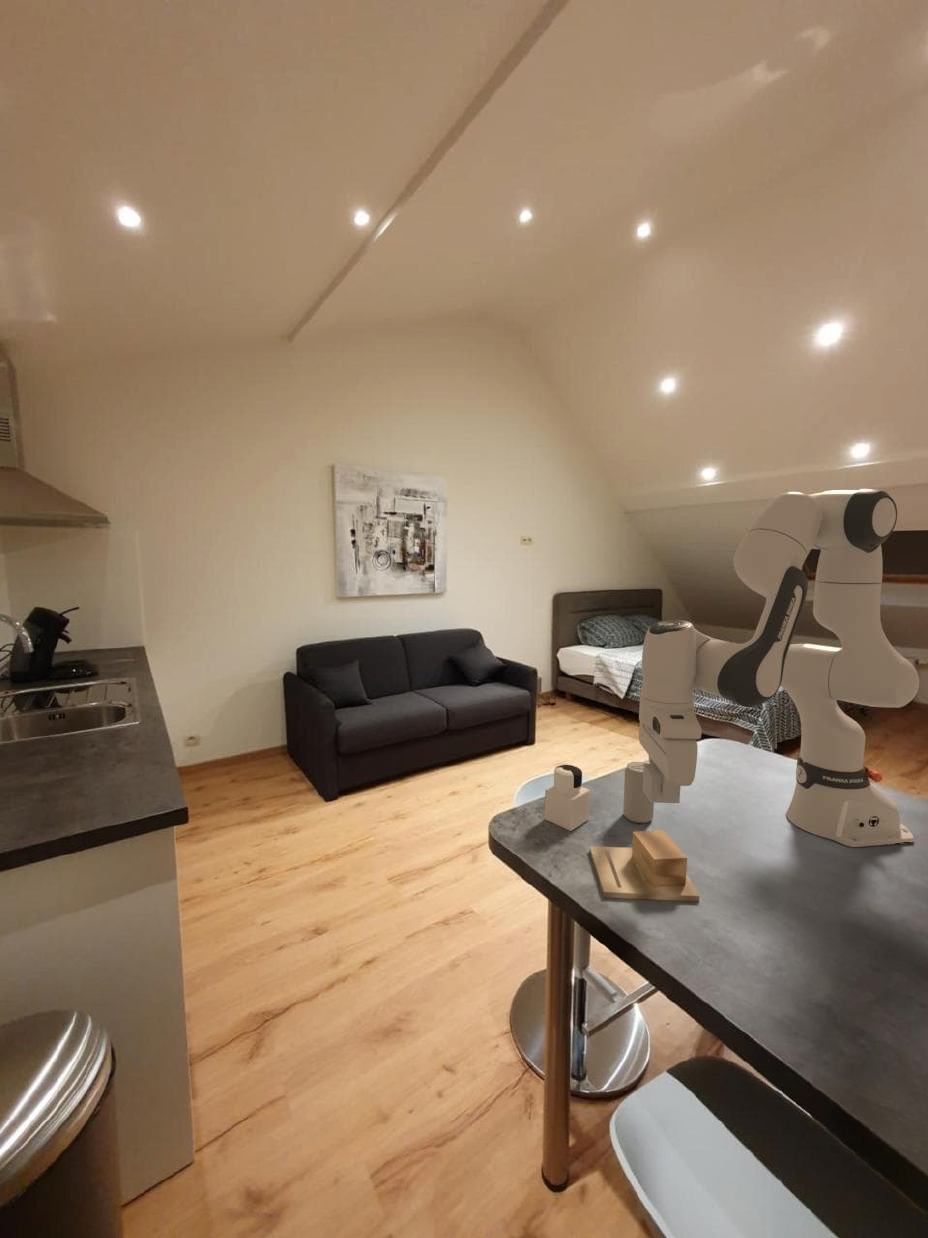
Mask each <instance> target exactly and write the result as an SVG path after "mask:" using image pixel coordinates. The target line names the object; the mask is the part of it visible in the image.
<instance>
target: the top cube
mask: <svg viewBox="0 0 928 1238" xmlns="http://www.w3.org/2000/svg"><path fill="white" fill-rule="evenodd" d="M663 781H664V778H663V774H662V773H661V771H660V770H659V769H658V767H657V766H656V764H650V763H647V764H644V770H643V791H644V793H645V794H646V796H647V798H648V799H649V801H650V802H654V804H655V803H659V804H660V803H661V804H680V801H681V800H680V799H681V786H675V788H674V796H673V797H664V796H663V794H662V793H661V784H663Z"/></svg>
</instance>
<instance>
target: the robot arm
mask: <svg viewBox="0 0 928 1238" xmlns="http://www.w3.org/2000/svg"><path fill="white" fill-rule="evenodd" d="M897 509H898V508H897V504H896V502H895V500H894V498H892V496H891V495H890V494H889V493H888V492H886V491H884V490H880V489H874V488H861V489H858V490H857V489H838V490H826V491H823V492H817V493H812V494H811V493H810V494H806V493H803V492H798V491H789V492H783V493H781V494H779V495H777V496H775V497H774V498H773V499H771V501H770V502H769V503H768V504H767V505H765V507H764V508H763V510H762V511H760V513H759V514H758V515H757V517H756V518H755V520H754V521H753V522H752V524H751V525H750V527H749V528H748V529H747V532H746V533H745V535H744V536H743V538H742V540H741V541H740V543H739V545H738V546H737V547H736V549H735V550H736V551H735V553H734V557H733V567H734V571H735V573H736V575H737V576H738V578H739V579H740V580H741V582H742V583H743V584H745V585H746V586H747V587H748V588H750V589H751V591H753V592H754V593H757V594H759V595H760V596H762V597H765V599H766V601H765V605H764V607H763V611H762V613H761V615H760V618H759V621H758V623H757V626H756V629H755V631H754V634H753V637H751V639H750V640H748V641H745V642H743V643H737V642H732V641H727V640H721V639H719V638H714V637H711V636H708V635H706V634H704V633H702V632H700V631H698V630H697V629H696V628H695V627H694V624H693V623H692V622H690V621H688V620H687V621H686V620H681V619H674V620H662V621H658V622H656V623H653V624H652V625H650V626H649V627H648V629H647V631H646V633H645V637H644V640H643V646H642V653H641V666H640V667H641V676H642V684H641V689H640V693H639V706H638V707H639V711H638V720H639V728H638V742H639V744H640V745H641V747H642V748H643V749H644V751H645V752H646V754H647V755H648V762H649V763H648V764H656V766H657V767H658V769H659V770H660V771H661V773H662V774H663V778H664V781H663V784H661V793H662V794H663V796H664V797H673V796H674V788H675V786H680V787H689V786H691V785H692V784H693V783H694V781H695V778H696V771H697V761H698V751H699V750H698V742H697V740H700V739H701V738H702V731H703V730H702V726H701V725H700V723H699V721H698V719H697V716H696V712H695V708H694V702H695V697H694V691H695V690H700V691H701V692H704V693H708V694H711V695H713V696H717V697H719V698H720V697H721V698H723V699H725V700H727V701H729V702H731V703H734V704H735V705H737V706H738V705H739V706H741V707H743V708H747V709H748V708H755V707H759V706H760V705H762V704H764V703H766V702H768V701H770V700H771V699H772V698H773V697H775V696H776V694H777V693H778V691H779V689H780V687H781V688H782V689H783V690H784V691H785V692H786V693H787V695H788V696H789V697H790V699H791V700H792V701H793V704H794V705H795V707H796V709H797V713H798V714H799V715H798V716H799V719H800V725H801V726H800V727H801V728H800V729H801V730H800V731H801V732H800V733H801V735H800V737H801V739H800V740H801V741H800V753H799V754H798V755H797V761H796V770H795V777H796V778H795V781H796V783H795V787H794V791H793V795H792V799H791V800H790V803H789V806H788V808H787V810H786V812H785V815H786V817H787V819H788V820H789V822H791V823H792V824H793V825H795V826H796V827H798V828H799V829H802V830H804V831H806V832H808V833H811V834H813V835H815V836H819V837H822V838H825V839H829V840H832V841H834V842H837V843H839V844H842V845H844V846H846V847H850V848H860V847H861V848H863V847H873V846H884V845H886V844H887V846H889V845H896V844H895V843H900V844H904V843H903V842H911V841H914V835H913V833H912V832H911V831H910V830H909V828H907V827H906V826H905V825H904V824H902V823H901V816H900V812H899V810H898V807H897V806H896V804H895V803H894V802H893V801H892V800H891V799H890V798H888V797H887V796H886V795H885V794H883V793H882V792H881V791H880V790H879V789H878V788H876V787H875V786H874V785H873V784H871V781H870V779H871V780H872V782H874V783H880V782H881V781H883V779H884V776H883V775H882V773H880V772H878V771H876V770H875V769H869V768H868V767H866V766H865V765H863V764H864V757H865V747H866V738H867V737H866V734H865V731H864V729H863V728H862V726H861V725H860V724H859V723H858V722H857V720H854V719H853V718H852V717H850V716H849V715H847V714H846V713H845V712H844V711H843V710H842V709H841V708H840V706H839V705H838V701H842V702H846V703H852V704H856V705H861V706H866V707H867V706H868V707H873V708H874V707H875V708H895V709H896V708H899V709H900V708H902V707H905V706H906V705H908V704H909V703H911V701H912V700H914V698H915V697H916V695H917V693H918V691H919V688H920V677H919V674H918V673H919V672H918V671H917V669H916V667H915V666H914V665H913V663H912V662H910V661H909V659H906V658H905V657H903V655H902V654H900V653H899V652H898V651H897V650H896V649H895V648H894V646H893V645H892V644H891V643H890V641H889V639H888V638H887V635H886V634H885V632H884V630H883V625H882V622H881V621H882V620H881V595H882V594H881V593H882V583H883V573H884V572H883V568H884V567H883V566H884V565H883V553H882V551H883V550H882V544H883V543H885V541H887V540H888V538H889V537H890V535H891V534H892V533H893V531H894V529H895V527H896V524H897V520H898V510H897ZM812 550H820V552H819V557H818V561H817V566H816V573H815V581H814V582H815V583H814V594H813V604H812V614H813V617H814V619H815V621H816V622H817V623H818V624H819V625H820V626H822V627H823V628H824V629H826V630H829V631H830V632H833V634H835V636H836V637H837V638H838V639H839V641H840V643H841V647H837V646H831V645H823V644H815V643H792V640H793V638H794V635H795V632H796V629H797V627H798V623H799V620H800V618H801V615H802V612H803V608H804V605H805V602H806V599H807V595H808V590H809V581H808V577H807V575H806V574H805V572H804V571H803V567H804V566H803V565H804V564H805V561H806V560H807V557H808V556H809V554H810V552H811V551H812ZM901 842H902V843H901ZM911 843H912V842H911Z"/></svg>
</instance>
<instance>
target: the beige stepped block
mask: <svg viewBox="0 0 928 1238" xmlns="http://www.w3.org/2000/svg"><path fill="white" fill-rule="evenodd" d="M544 793H545V794H544V820H545V821H548V822H550V823H552V824H553V825H557V826H559V827H561V828H563V829H565V830H567V831H570V832H572V831H573V830H575V829H576V828H578V827H579V826H582V825H583V824H584V823H585V822H587V821H589V819H590V799H591V797H590V796H591V791H590V789H589V788H586V787H584V786H583V771H582V770H581V769H580V768H579V767H578V766H575V765H572V764H561V765H557V766H556V767H555V768H554V770H553V785H552V786H550V787H548V788H546V789H545V792H544Z"/></svg>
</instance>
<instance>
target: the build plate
mask: <svg viewBox="0 0 928 1238" xmlns="http://www.w3.org/2000/svg"><path fill="white" fill-rule="evenodd" d="M589 853H590V857H591V860H592V862H593V866H594V869H595V872H596V876H597V879H598V882H599V885H600V889H601V892H602V896H603V898H610V899H612V898H613V899H630V900H631V899H635V900H657V901H680V902H683V901H684V902H700V894H699V892H698V891H697V889H696V888H695V885H694V884H693V882H692V880H691V879H690V877H689V875H688V873H686V884H680V885H662V886H652V884H651V883H650V881H649V880H648V879H647V877H646V876H645V874H644V873H643V871H642V870H641V868H640V867H639V866H638V864H637V863H636V861H635V860H634V858H633V857H632V847H621V846H620V847H618V846H616V847H615V846H614V847H613V846H592V845H591V846H589Z"/></svg>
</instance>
